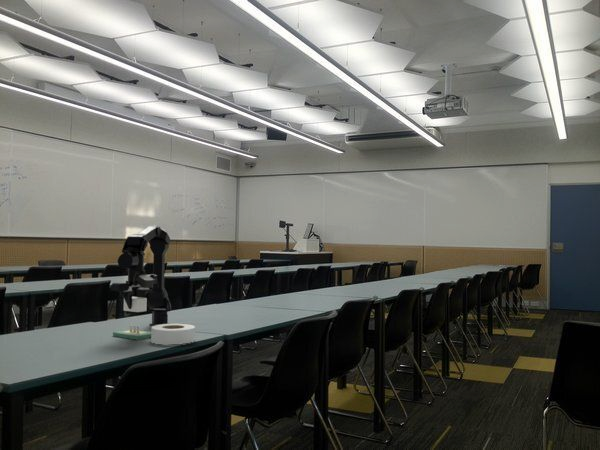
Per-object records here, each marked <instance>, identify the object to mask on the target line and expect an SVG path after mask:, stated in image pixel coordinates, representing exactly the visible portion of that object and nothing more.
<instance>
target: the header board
mask: <svg viewBox="0 0 600 450" xmlns="http://www.w3.org/2000/svg"><path fill="white" fill-rule="evenodd" d="M140 328H141V327H140V325H133V324H130V325H129V329H124V330H119V331H113V332H112V336H113V337H117V338H121V337H122V338H123V339H127V338H129V339H128V340H133V339H136V340H135V341H139V340H138V339H141V340H144V339H143V338H146V339H150V338H149V337H151V331H149V330H147V331H146V330H140Z"/></svg>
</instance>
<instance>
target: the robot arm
mask: <svg viewBox="0 0 600 450" xmlns="http://www.w3.org/2000/svg"><path fill="white" fill-rule="evenodd" d="M148 244H149V249H150V251H151V253H152V254H153V268H152V269H153V270H152V273H151V274H149V275H148V274H147V271H146V269H144V266H145V265H144V263H145V256H146V253H145V251H146V249H147V247H148ZM170 244H171V238H170V236H169V234H168V232H166V231H165V230H163V229H162V228H161V227H160V226H158V225H148V226H147V227H146V228H145V229H144V230H142V231H140V232H139V233H136V234H129V235H128V236H126V238H125V240H124V243H123V246H122V249H121V253H122V254H120V255H119V256H118V258H117V265H118V266H119V267H120V268H121V269H123V270H125V273H126V274H127V280H125V282H113V283H111V285H110V291H114V292H118V293H120V294H121V296H122V297H123V300H124V299H125V301H126V304H127V306H128V308H129V309H131V307H132V297H133V295H134V293H135V291H134V290H133V289H136V297H142V298H146V296H147V295H148V298H147V309H148V310H147V311H148V312H151V323H149V324H148V325H149V326H151V327H152V326H155V325H161V324H170V323H169V322H168V321H169V320H168V318H169V317H168V316H169V315H168V312H171V311H172V305H171V301H170V298H169V294H168V291H167V290H166V288H165V264H166V263H165V262H166V261H165V260H166V259H165V257H166V254H167V251H168V250H169V249H170ZM150 288H151V289H150Z"/></svg>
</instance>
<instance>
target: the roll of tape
mask: <svg viewBox="0 0 600 450" xmlns="http://www.w3.org/2000/svg"><path fill="white" fill-rule="evenodd" d="M150 330H151V331H150V332H151V339H150V341H151V344H153V343H155V344H154V345H157V344H163V345H162V346H169V345H168V344H180V343H188V342H192V341H194V340H195V337H196V326H195V325H193V324H185V323H169V324H161V325H155V326H152V325H151V329H150ZM195 341H196V340H195ZM195 341H194V342H195ZM192 343H193V342H192Z"/></svg>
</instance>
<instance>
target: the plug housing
mask: <svg viewBox="0 0 600 450" xmlns="http://www.w3.org/2000/svg"><path fill="white" fill-rule="evenodd" d="M147 309H148V298H147V297H145V298H142V297H137V296H132V307H131V309H129V308H128V306H127V304H126V301H125V299H124V298H123V311H124V312H125V311H126V312H131V313H132V312H133V313H143V312H147V311H148V310H147Z"/></svg>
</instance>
